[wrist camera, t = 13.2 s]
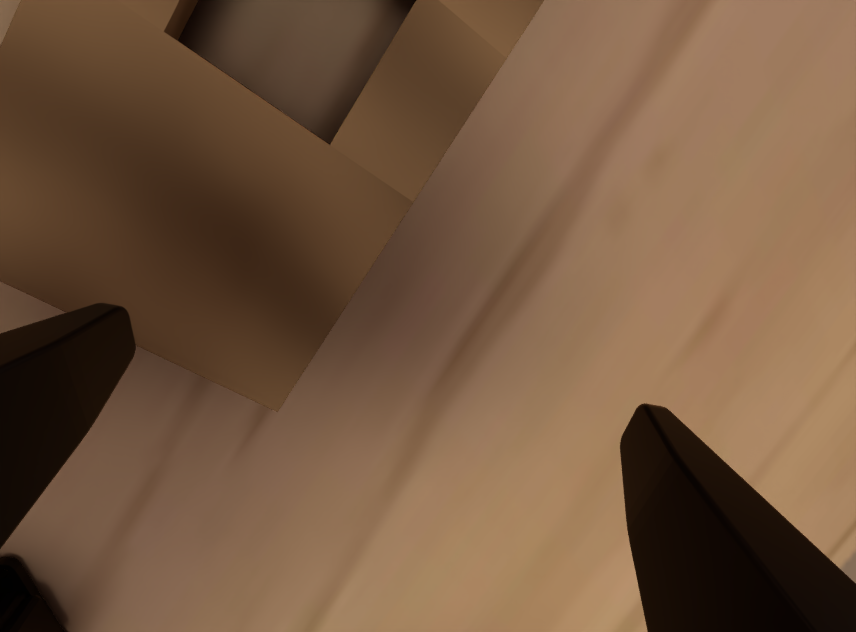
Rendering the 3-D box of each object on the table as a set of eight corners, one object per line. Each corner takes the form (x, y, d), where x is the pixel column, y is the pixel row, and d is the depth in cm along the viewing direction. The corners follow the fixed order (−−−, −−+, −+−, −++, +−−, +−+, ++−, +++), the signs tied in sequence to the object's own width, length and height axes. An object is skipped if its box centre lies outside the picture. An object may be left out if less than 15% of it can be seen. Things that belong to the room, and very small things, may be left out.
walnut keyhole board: (288, 364, 21) (277, 412, 17) (6, 220, 17) (-86, 240, 14) (580, -92, 17) (646, -158, 13) (296, -387, 14) (280, -586, 10)
